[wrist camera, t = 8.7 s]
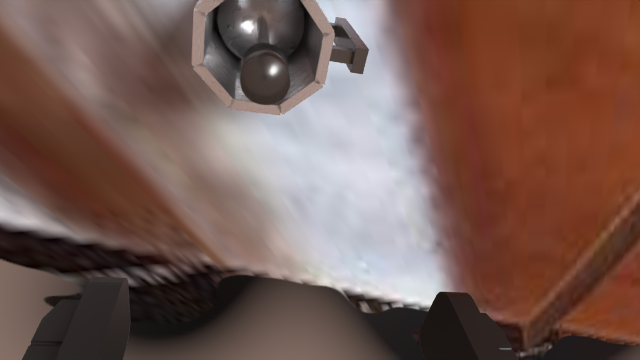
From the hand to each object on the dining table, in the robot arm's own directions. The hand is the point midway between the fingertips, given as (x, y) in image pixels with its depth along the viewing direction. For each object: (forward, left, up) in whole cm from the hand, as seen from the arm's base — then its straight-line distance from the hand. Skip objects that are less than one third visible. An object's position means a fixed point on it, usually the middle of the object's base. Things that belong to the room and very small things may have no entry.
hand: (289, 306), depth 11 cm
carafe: (+1, +1, -38) cm, 38 cm away
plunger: (+1, 0, -33) cm, 33 cm away
